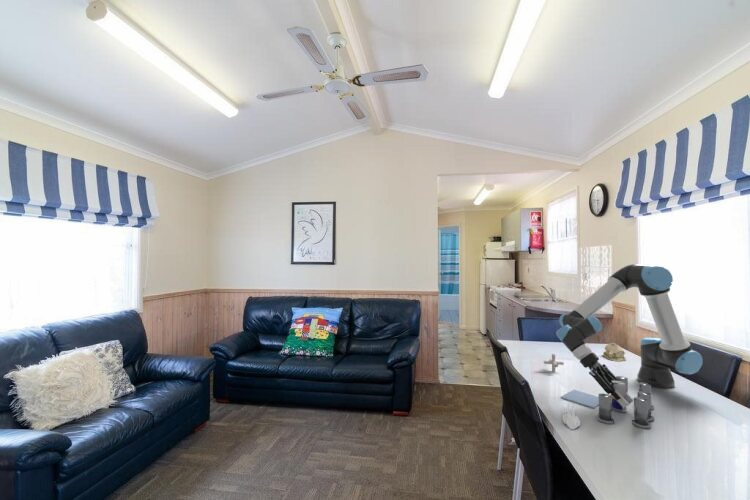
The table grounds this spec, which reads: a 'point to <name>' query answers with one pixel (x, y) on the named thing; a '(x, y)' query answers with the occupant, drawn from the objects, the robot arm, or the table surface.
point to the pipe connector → (553, 363)
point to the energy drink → (621, 389)
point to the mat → (582, 398)
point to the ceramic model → (614, 352)
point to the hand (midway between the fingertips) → (628, 404)
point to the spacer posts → (640, 406)
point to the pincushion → (571, 420)
